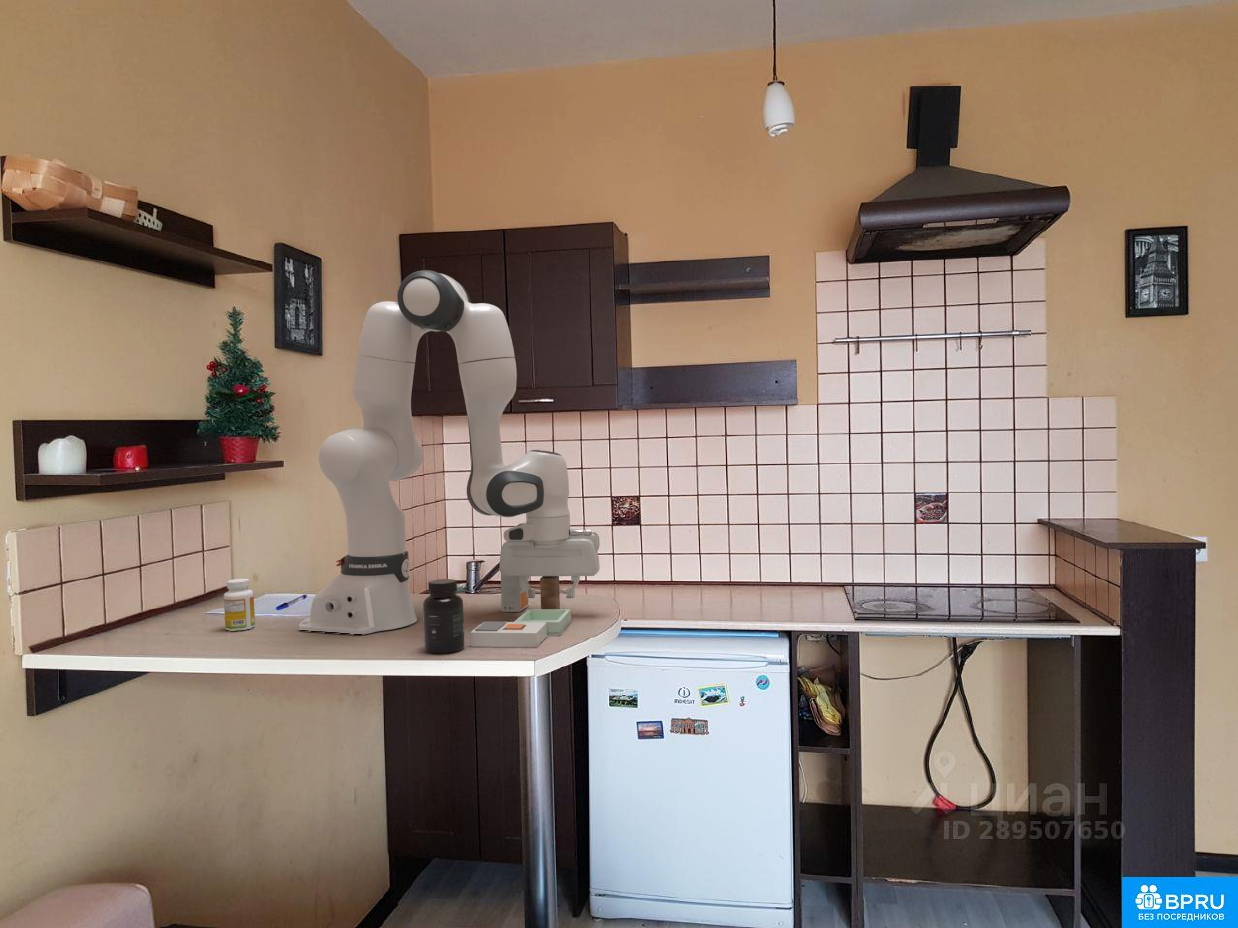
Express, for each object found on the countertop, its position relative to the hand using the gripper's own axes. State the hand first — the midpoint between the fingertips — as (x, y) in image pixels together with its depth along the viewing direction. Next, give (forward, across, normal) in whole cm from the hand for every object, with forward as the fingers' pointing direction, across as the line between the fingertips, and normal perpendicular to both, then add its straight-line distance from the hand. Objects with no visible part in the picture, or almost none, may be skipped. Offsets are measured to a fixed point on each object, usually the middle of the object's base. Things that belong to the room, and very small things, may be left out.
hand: (550, 597), depth 167 cm
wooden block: (+4, 0, 0) cm, 4 cm away
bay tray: (+4, -1, +10) cm, 11 cm away
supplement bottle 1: (+4, +60, +13) cm, 62 cm away
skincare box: (+4, +9, -6) cm, 12 cm away
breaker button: (+3, +2, +20) cm, 20 cm away
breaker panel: (+4, +3, +20) cm, 20 cm away
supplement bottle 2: (+4, +13, +26) cm, 29 cm away
